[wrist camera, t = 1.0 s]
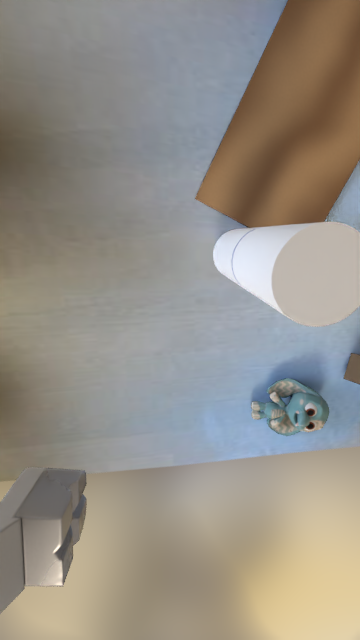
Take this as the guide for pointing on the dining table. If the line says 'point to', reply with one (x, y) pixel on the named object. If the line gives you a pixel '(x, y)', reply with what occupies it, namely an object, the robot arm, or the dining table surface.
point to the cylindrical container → (296, 268)
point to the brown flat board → (293, 122)
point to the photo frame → (353, 369)
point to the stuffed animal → (292, 408)
